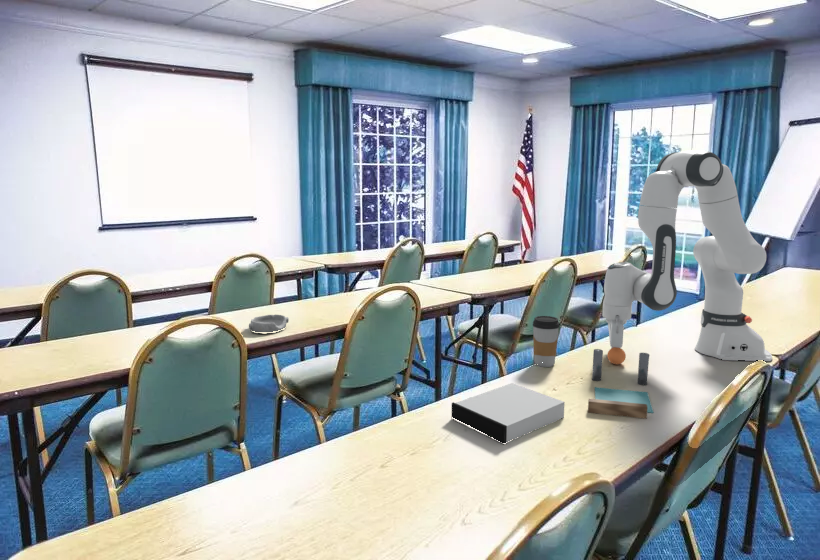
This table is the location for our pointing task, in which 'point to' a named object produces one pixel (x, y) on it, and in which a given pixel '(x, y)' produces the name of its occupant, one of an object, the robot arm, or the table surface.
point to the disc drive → (508, 411)
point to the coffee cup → (545, 340)
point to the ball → (616, 355)
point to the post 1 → (597, 364)
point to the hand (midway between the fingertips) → (614, 352)
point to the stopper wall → (617, 408)
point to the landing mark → (624, 396)
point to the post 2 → (643, 368)
